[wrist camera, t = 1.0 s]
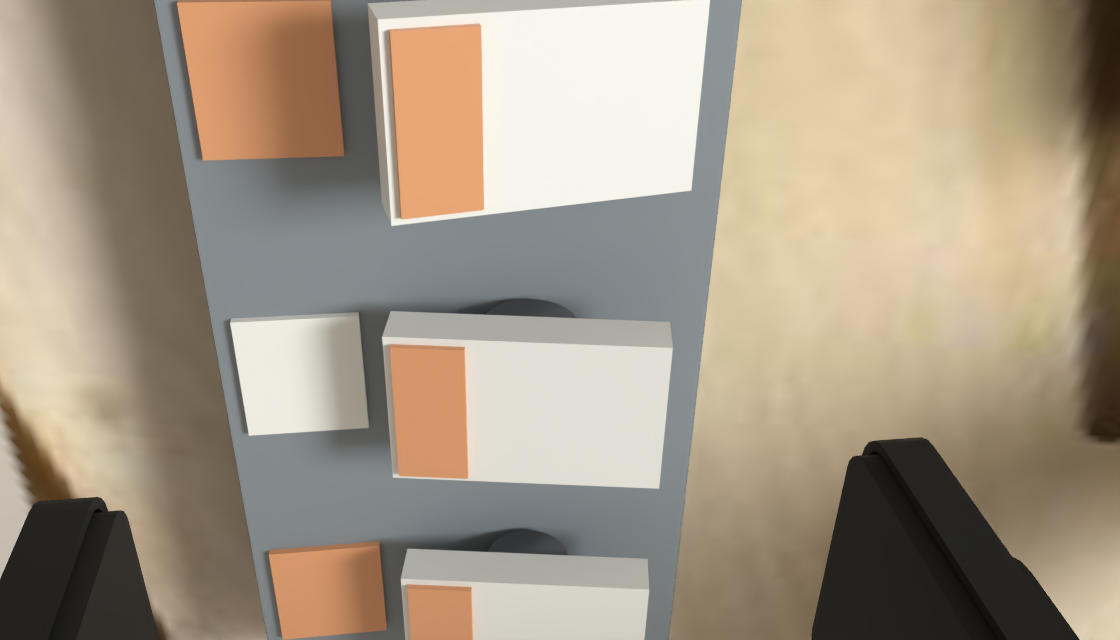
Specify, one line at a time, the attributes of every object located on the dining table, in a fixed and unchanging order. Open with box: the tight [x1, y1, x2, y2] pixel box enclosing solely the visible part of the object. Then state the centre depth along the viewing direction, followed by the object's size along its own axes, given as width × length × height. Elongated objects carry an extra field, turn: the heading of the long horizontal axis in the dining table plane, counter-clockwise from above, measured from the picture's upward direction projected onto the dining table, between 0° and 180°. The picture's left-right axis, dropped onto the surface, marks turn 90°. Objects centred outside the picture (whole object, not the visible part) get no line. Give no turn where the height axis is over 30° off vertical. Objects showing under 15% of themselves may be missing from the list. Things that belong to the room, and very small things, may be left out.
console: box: [154, 0, 742, 640], centre depth 30 cm, size 13×25×4 cm, turn 179°
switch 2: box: [382, 299, 673, 489], centre depth 27 cm, size 7×4×3 cm, turn 89°
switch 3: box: [401, 530, 649, 640], centre depth 31 cm, size 7×4×3 cm, turn 88°
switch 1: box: [368, 0, 710, 226], centre depth 23 cm, size 7×4×3 cm, turn 89°
